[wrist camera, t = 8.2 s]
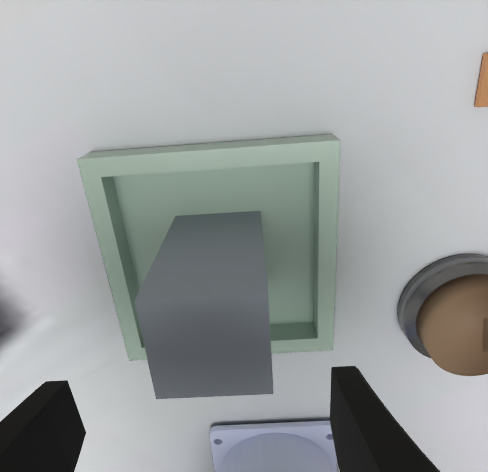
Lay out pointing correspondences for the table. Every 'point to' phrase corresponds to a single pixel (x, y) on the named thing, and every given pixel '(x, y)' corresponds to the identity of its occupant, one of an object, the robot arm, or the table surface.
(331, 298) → the tray
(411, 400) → the table surface
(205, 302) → the block
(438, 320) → the crank
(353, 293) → the table surface
